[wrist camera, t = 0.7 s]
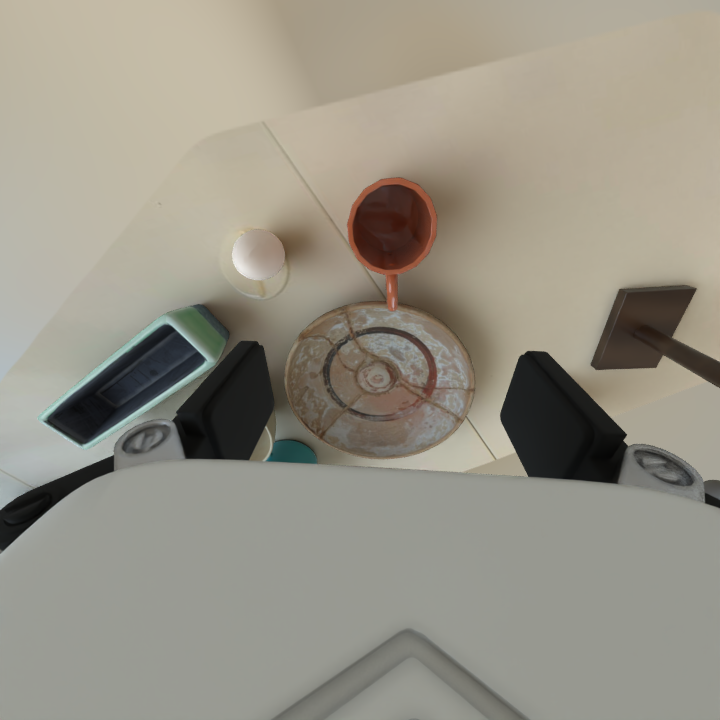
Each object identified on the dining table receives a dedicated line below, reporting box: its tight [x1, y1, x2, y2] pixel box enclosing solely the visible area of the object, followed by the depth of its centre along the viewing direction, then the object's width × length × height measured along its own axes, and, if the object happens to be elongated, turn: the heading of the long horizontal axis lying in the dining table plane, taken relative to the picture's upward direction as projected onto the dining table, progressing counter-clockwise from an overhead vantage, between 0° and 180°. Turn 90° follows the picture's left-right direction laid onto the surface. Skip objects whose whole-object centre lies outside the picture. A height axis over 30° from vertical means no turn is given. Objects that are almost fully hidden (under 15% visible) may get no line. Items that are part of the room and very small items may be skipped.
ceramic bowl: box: [284, 301, 475, 459], centre depth 38 cm, size 23×24×5 cm
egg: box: [232, 229, 285, 280], centre depth 29 cm, size 5×5×7 cm
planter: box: [38, 304, 229, 450], centre depth 38 cm, size 28×7×7 cm, turn 124°
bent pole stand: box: [591, 285, 720, 499], centre depth 25 cm, size 10×15×24 cm, turn 95°
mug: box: [347, 177, 437, 311], centre depth 27 cm, size 11×7×9 cm, turn 5°
